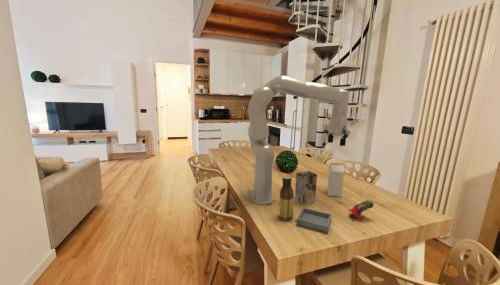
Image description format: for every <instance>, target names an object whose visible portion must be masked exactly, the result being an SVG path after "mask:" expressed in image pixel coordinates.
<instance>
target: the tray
mask: <svg viewBox="0 0 500 285" xmlns="http://www.w3.org/2000/svg"><path fill="white" fill-rule="evenodd" d="M331 222H332V214H331V213H328V212H323V211H320V210H316V209H311V208H306V207H302V209H301V211H300V213H299V215H298V216H297V218H296V223H295V224H296V226H298V227H301V228H304V229H309V230H312V231H315V232H316V231H317V232H320V233H323V234H326V235H327V234H328V233H329V229H330V225H331Z"/></svg>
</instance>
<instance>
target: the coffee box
mask: <svg viewBox="0 0 500 285" xmlns="http://www.w3.org/2000/svg"><path fill="white" fill-rule="evenodd" d="M317 178H318V175H317V173H315V172H312V171H310V170H308V171H302V172H296V174H295V187H294V191H295V194H294V202H295V203H297V204H299V205H301V206H306V205H310V204H315V203H316V191H317V181H318V180H317Z"/></svg>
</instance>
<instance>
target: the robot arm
mask: <svg viewBox="0 0 500 285" xmlns="http://www.w3.org/2000/svg"><path fill="white" fill-rule="evenodd" d="M281 93H282V94H285V95H290V96H293V97H298V98H302V99H313V100H318V101H319V102H321V103H323V104H332V109H331V115H330V118H329V121H328V126H327V127H326V133H327V136H328V137H327V143H331V144H332V143H333V142H334V135H339V136H340V138H339V139H340V141H339V146H340V147H345V146H346V142H347V139H348V137H349V135H350V134H351V130H350V129H348V116H347V115H348V106H349V98H350V91H349V90H348V89H339V88H338V87H334V86H331V85H327V84H324V83H317V82H312V81H306V80H304V79H299V78H296V77H292V76H289V75H285V74H284V75H278V76H276V77H273V78H272V79H270V80H269V81H267V82H265V83H264V84H262V85H260V86H259V87H256V88H255V89H254V90H253V92H252V96H251V98H250V100H249V103H248V107H247V110H248V111H247V112H248V120H249V126H248V129H247V132H248V139H249V144H250V148H251V151H252V153H253V155H254V156H255V160H254V161H255V162H254V176H253V177H254V181H253V182H254V184H253V189H250V188H249V189H247V194H248V195H251V197H250V201H251V202H252V203H254V204H257V205H259V206H260V205H261V206H262V205H265V206H266V205H270V204H273V203H274V201H275V197H274V196H273V195H272V188H273V187H272V186H273V166H274V159H275V149H274V148H273V146H272V145H271V144H269V143H268V141H267V139H268V138H269V135H270V132H269V126H268V122H267V121H268V120H267V115H266V109H267V105H269V103H270V102H271V101H272V100H273V98H274V97H275V96H277V95H279V94H281Z"/></svg>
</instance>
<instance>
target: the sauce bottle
mask: <svg viewBox="0 0 500 285" xmlns="http://www.w3.org/2000/svg"><path fill="white" fill-rule="evenodd" d="M281 180H282V186H281V189H280V190H279V191H280V192H279V218H280V219H281V220H283V221H292V220H293V217H294V201H295V196H294V190H293V187H292V180H293V179H292V176H289V175H283V176H282V178H281Z"/></svg>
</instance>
